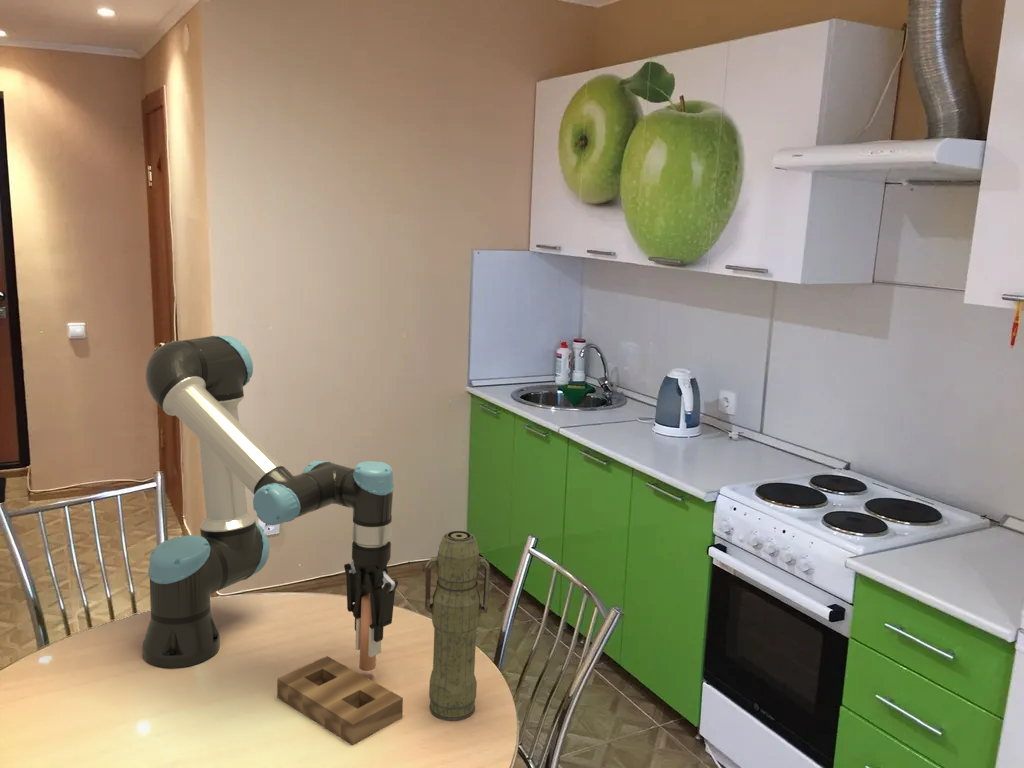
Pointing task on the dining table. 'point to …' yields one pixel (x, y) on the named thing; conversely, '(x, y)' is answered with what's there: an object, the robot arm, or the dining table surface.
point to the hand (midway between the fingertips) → (368, 650)
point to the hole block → (340, 699)
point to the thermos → (455, 624)
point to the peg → (366, 635)
